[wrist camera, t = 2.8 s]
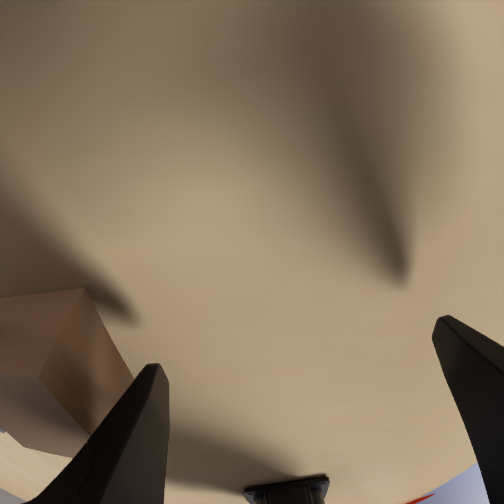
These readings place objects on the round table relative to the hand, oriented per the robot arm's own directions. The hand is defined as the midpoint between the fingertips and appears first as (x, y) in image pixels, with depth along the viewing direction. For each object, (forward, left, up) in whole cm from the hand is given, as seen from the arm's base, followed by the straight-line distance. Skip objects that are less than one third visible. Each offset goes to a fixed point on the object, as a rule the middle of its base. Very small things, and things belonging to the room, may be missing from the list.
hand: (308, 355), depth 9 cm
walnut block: (0, +9, -2) cm, 9 cm away
